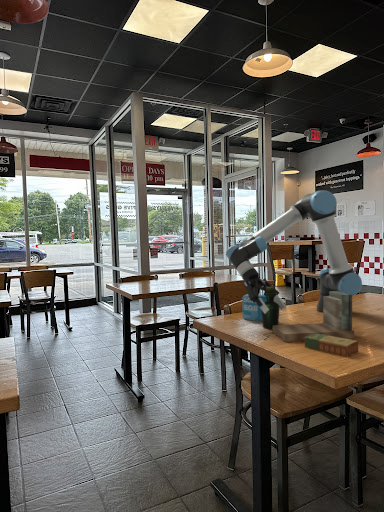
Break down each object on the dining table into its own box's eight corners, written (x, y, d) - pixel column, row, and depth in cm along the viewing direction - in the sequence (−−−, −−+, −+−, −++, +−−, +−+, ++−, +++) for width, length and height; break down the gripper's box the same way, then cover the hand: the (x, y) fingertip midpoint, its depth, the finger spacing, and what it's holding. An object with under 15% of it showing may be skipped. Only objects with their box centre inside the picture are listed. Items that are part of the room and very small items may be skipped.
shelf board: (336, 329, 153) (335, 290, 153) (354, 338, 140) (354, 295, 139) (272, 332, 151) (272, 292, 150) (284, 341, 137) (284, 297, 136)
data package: (242, 319, 177) (242, 295, 176) (245, 317, 181) (244, 294, 181) (266, 321, 172) (266, 296, 171) (268, 319, 176) (268, 295, 175)
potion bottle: (268, 330, 154) (268, 288, 154) (257, 326, 162) (257, 286, 161) (283, 328, 158) (283, 287, 157) (272, 324, 165) (271, 285, 164)
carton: (347, 358, 118) (347, 345, 118) (303, 348, 130) (303, 336, 130) (358, 352, 123) (358, 340, 123) (315, 343, 136) (315, 331, 135)
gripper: (259, 276, 178) (286, 311, 167) (226, 280, 163) (253, 319, 152) (268, 265, 174) (296, 301, 163) (235, 269, 159) (263, 308, 148)
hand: (275, 309), depth 157 cm, fingers open, 11 cm apart
